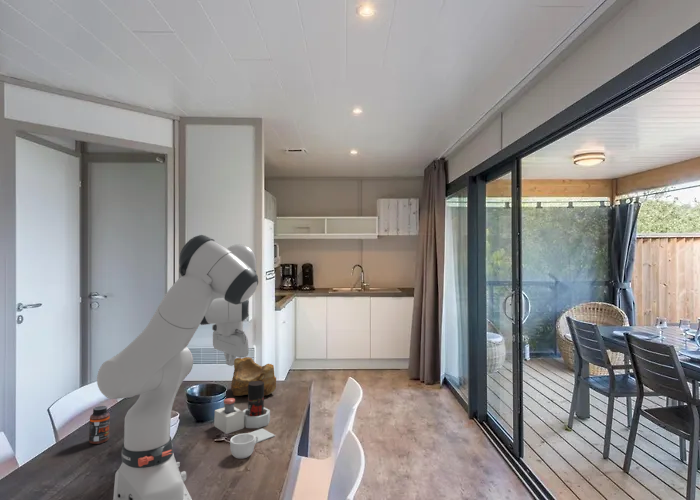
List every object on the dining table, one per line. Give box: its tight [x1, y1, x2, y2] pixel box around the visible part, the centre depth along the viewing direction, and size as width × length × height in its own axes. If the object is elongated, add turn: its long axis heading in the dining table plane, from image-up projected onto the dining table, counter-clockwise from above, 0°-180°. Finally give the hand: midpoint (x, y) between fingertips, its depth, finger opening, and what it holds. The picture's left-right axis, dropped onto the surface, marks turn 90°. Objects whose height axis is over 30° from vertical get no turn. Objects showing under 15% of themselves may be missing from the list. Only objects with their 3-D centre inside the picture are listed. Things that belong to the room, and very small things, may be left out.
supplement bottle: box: [88, 405, 111, 445], centre depth 142 cm, size 6×6×11 cm
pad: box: [248, 427, 276, 444], centre depth 148 cm, size 8×8×1 cm
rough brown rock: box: [230, 356, 277, 397], centre depth 191 cm, size 23×17×15 cm
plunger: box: [223, 397, 236, 414], centre depth 155 cm, size 4×4×6 cm
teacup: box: [229, 432, 258, 460], centre depth 135 cm, size 10×8×5 cm
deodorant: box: [247, 381, 265, 416], centre depth 159 cm, size 6×6×15 cm
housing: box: [213, 406, 271, 435], centre depth 157 cm, size 13×18×6 cm
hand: (230, 364), depth 155 cm, fingers closed
